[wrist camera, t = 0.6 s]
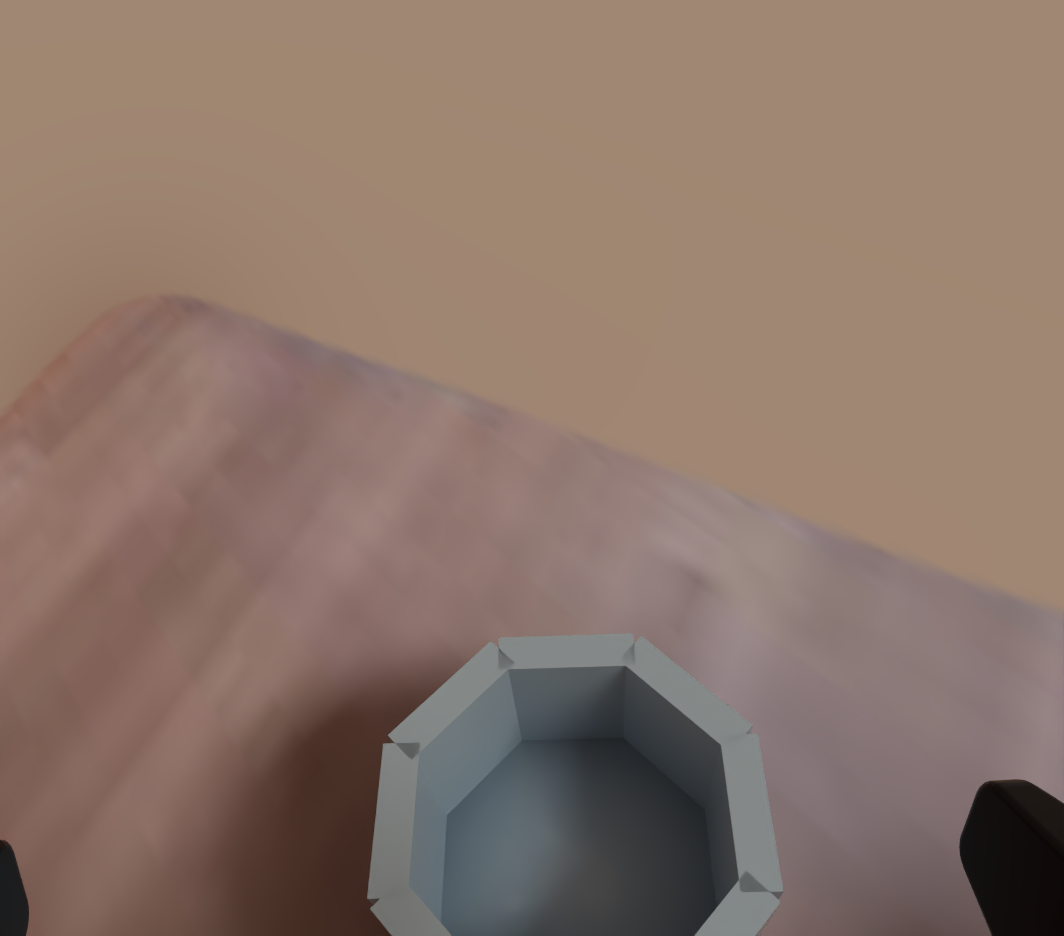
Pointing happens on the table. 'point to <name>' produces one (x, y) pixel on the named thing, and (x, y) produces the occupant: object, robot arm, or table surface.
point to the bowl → (573, 801)
